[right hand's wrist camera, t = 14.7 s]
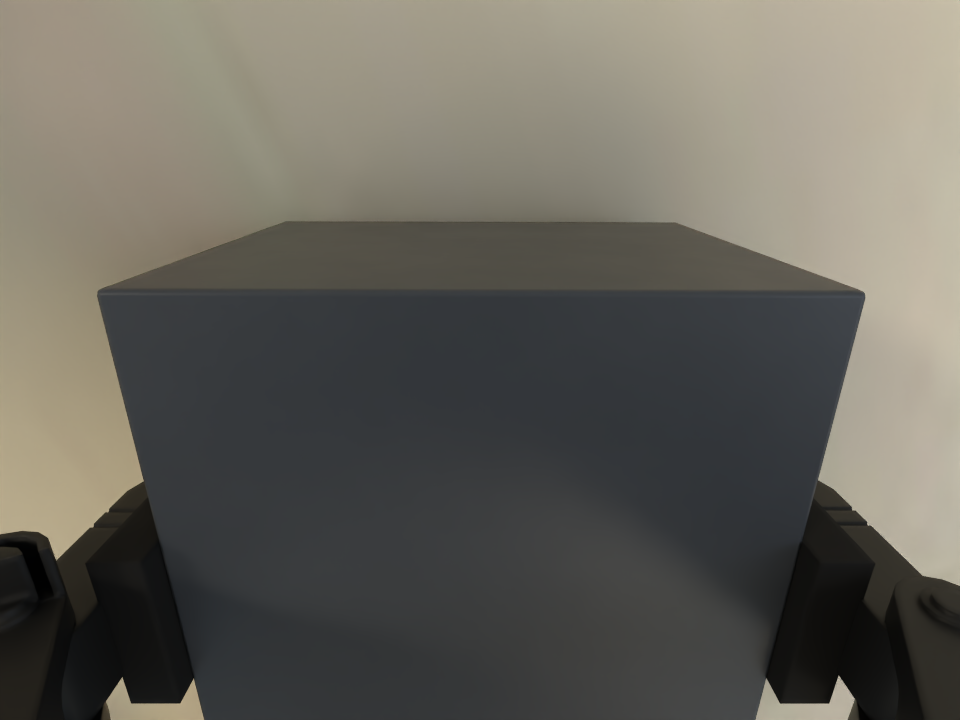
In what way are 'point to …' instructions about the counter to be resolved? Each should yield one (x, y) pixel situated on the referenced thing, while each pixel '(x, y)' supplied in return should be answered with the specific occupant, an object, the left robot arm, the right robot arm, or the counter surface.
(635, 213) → the counter surface
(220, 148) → the counter surface
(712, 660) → the thick board
